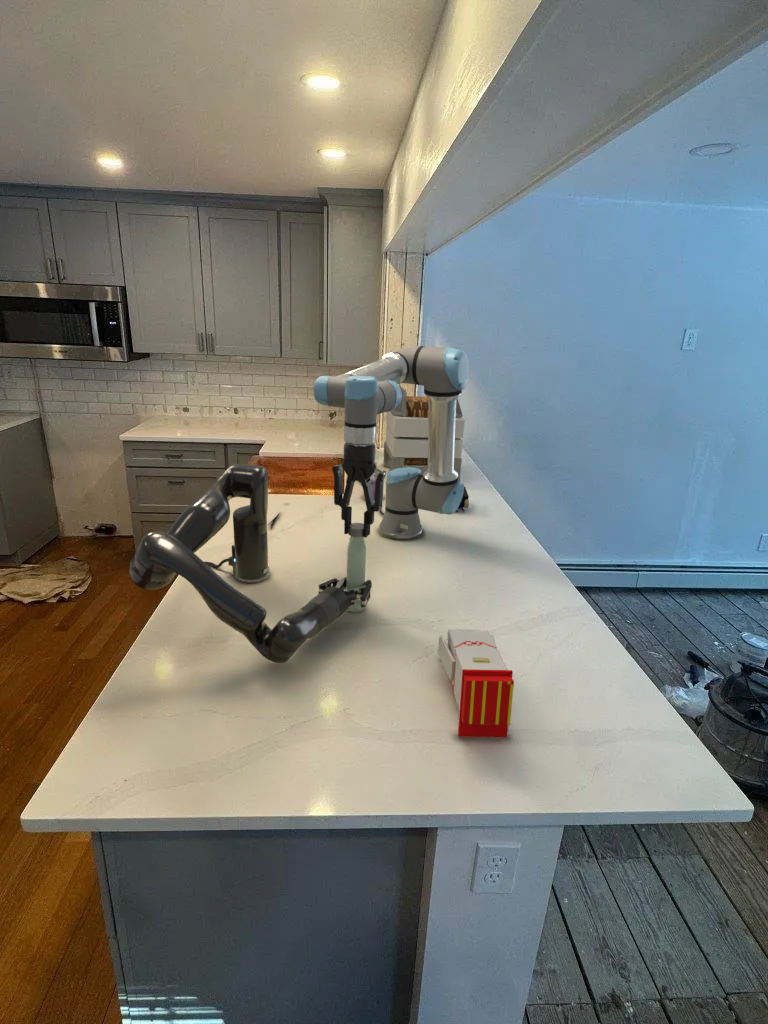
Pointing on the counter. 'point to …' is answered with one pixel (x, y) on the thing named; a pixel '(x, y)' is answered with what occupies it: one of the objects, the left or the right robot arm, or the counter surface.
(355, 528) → the cap
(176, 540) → the left robot arm
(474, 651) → the toy
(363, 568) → the bottle
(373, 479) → the figurine
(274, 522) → the feather
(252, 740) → the counter surface
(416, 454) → the grey slatted crate
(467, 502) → the figurine character
